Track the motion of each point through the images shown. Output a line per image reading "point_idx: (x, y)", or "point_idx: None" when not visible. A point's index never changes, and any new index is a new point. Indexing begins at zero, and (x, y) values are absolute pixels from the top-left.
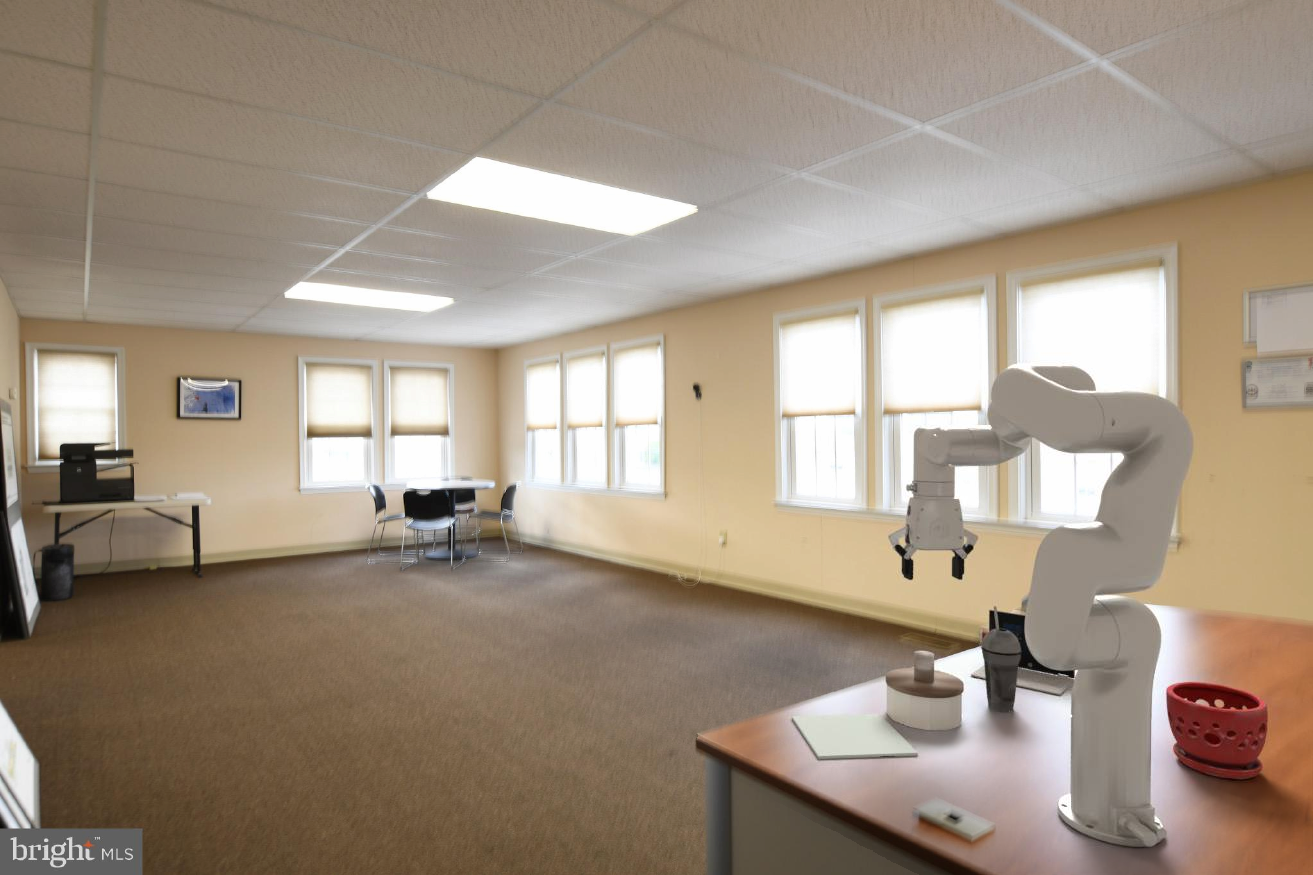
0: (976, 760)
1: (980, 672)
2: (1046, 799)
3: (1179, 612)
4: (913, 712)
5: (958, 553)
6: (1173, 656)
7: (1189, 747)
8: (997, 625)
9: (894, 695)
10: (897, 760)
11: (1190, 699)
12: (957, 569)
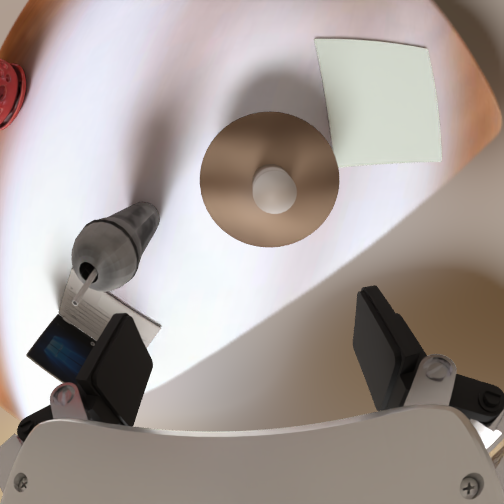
0: (238, 30)
1: (147, 335)
2: None
3: None
4: None
5: (83, 411)
6: (9, 358)
7: (14, 73)
8: (90, 276)
9: None
10: (342, 31)
11: None
12: (120, 352)
